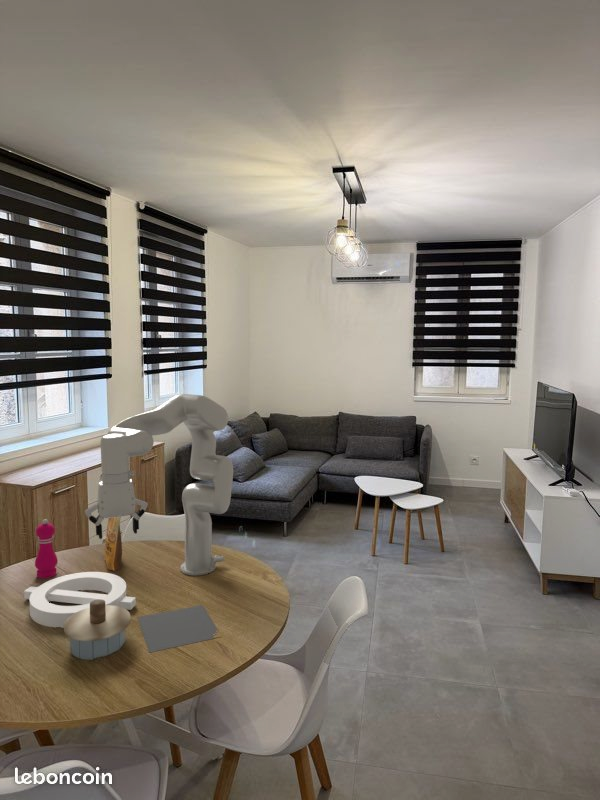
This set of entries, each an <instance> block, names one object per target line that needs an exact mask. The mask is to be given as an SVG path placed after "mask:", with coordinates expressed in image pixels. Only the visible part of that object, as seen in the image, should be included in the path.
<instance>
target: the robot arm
mask: <svg viewBox="0 0 600 800" xmlns="http://www.w3.org/2000/svg"><path fill="white" fill-rule="evenodd" d="M182 423H184V425H185V427H186V428H187V429H188V431H189V433H190V435H191V440H192V443H191V444H192V445H191V451H190V452H191V453H190V463H189V474H190V476H191V477H192V478H193V479H196V480H199V481H206V482H213V484H214V485H211V484H205V483H199V482H195V483H190V484H187V485H186V486H185V487H184V488H183V490H182V492H181V493H182V495H181V501H182V507H183V511H184V562H182V564H180V572H182V573H183V574H185V575H188V576H195V577H196V576H204V575H208V573H209V574H210V573H213V572H214V571H215V570H216V569H217V567H216V566H217V564H216V563H220V562H225V556H224V555H219V554H215V555H213V554H212V545H213V544H212V542H213V541H212V538H213V537H212V536H213V535H212V533H213V531H212V529H213V527H212V525H213V522H212V517H211V514H217V515H223V514H225V513H226V512H227V511H228V510H229V507H230V504H231V499H232V498H231V497H232V490H233V479H234V465H233V461H232V460H231V458H230V457H228V456H225V455H220V454H216V450H217V449H216V448H217V438H216V435H215V432H220V431H222V430H224V429H225V428H226V427H227V425H228V423H229V414H228V412H227V410H226V409H225V407H224V406H222V405H220V404H219V403H217V402H216V401H214V400H212V399H211V398H209V397H207V396H204V395H202V394H201V395H200V394H188V393H180V394H177V395H174V396H173V397H171V398H170V399H168V400H167V401H165V402H164V403H162V404H161V405H159V406H158V407H157V408H155V409H153V410H149V411H145V412H143V413H140V414H136V415H132V416H131V417H127V418H125V419H123V420H122V421H120V422H118V423H117V424H115V425H114V426H113V427H111V428H110V429H109V430H108V432H107V433H106V435H102V437H101V438H100V460H101V461H100V462H101V468H100V469H101V481H100V482H98V488H97V502H96V503H94V504H93V505H92V506H91V505H90V506H89V507H88V508H86V509H85V510H84V514H85V516H86V517H87V519H88V520H89V522H91V523H93V524H94V525H95V535H96V536H98V538H99V539H100V540H101V539H103V525H102V522H103V521H104V520H105V519H109V518H113V517H120V516H121V517H125V516H127V517H128V516H132V532H133V533H134V534H138V530H139V529H140V523H139V522H140V521H139V520H140V518H141V517H143V515H144V514H145V512H146V510H147V507H148V505H149V504H148V502H146V501H144V500H141V499H138V498H136V496H135V490H134V483H133V480H132V477H135V476H136V473H135V472H136V471H131V470H130V458H133V457H140V456H144V455H147V454H148V453H150V452H151V450H152V448H153V447H154V443H155V442H154V438H153V437H154V436H161V435H165V434H168V433H170V432H172V431H173V430H174V429H175V428H177V427H178V426H179V425H180V424H182ZM136 505H138V506H140V508H139V510H137V512H136V509H137V507H136ZM96 510H97V513H98V515H97V516H94V515H93V514H92V513H93V512H94V511H96ZM212 571H213V572H212Z"/></svg>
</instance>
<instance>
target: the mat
mask: <svg viewBox="0 0 600 800" xmlns="http://www.w3.org/2000/svg"><path fill="white" fill-rule="evenodd" d="M137 620H138V623H139V626H140V629H141V633H142V635H143V638H144V640H145V643H146V647H147V649H148V652H149V653H155V652H159V651H163V650H167V649H172V648H173V649H174V648H178V647H181V646H187V645H191V644H195V643H201V642H204V641H209V640H214V639H213V638H214V637H213V636H215V635H216V634H215V632H216V630H217V631H219V630H218V628H217V626H216V625H215V623H214V621H213V620H212V617H211V616H210V614H209V613H208V611H207V609H206V608H205V606H204V604H201V605H196V606H195V605H194V606H190V607H184V608H179V609H174V610H168V611H163V612H158V613H152V614H148V615H142V616H138V617H137ZM216 633H217V632H216ZM213 634H215V635H213Z"/></svg>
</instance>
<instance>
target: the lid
mask: <svg viewBox="0 0 600 800" xmlns="http://www.w3.org/2000/svg"><path fill="white" fill-rule="evenodd" d="M131 619H132V618H131V613H130V612H129V610H127V609H124V608H122V607H118V606H112V605H105V601H104V600H100V599H99V600H94V601H92V602H90V608H86V609H83V610H81V611H78V612H76V613H74V614H73V615H71V616H70V617H69V618H68V619H67V620H66V621H65V623H64V628H63V633H64V635H66V636H67V637H68V638H69V639H70V638H72V639H75V640H79V641H97V640H102V639H106V638H110V637H112V636H115V635H117V634H119V633H121V632H122V631H124V630H125V631H126V629H127V628H129V625H130V624H131Z"/></svg>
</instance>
